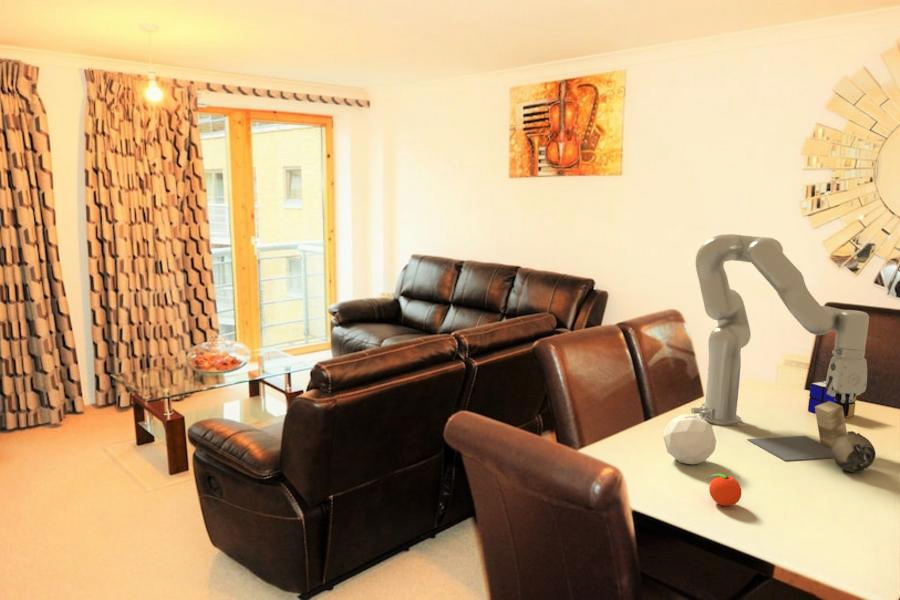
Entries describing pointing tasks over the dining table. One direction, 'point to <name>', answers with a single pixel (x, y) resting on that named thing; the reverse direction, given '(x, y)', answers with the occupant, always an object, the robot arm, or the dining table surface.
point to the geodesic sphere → (689, 439)
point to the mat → (794, 448)
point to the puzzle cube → (824, 398)
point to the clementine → (725, 490)
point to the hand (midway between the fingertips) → (841, 414)
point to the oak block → (830, 422)
